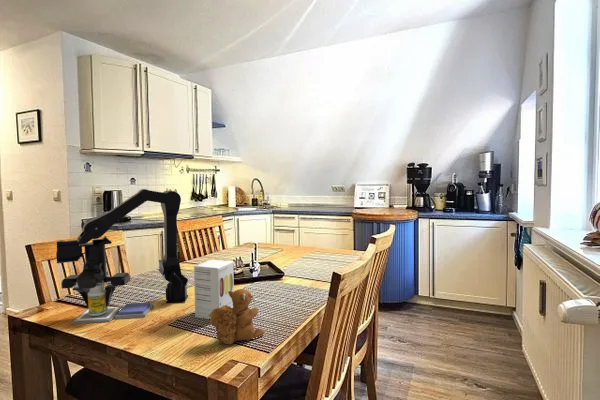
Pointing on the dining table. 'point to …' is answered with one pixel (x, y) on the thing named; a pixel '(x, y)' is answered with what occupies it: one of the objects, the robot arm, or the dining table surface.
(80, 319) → the marked board
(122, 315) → the ink pad
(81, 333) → the dining table surface
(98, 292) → the supplement bottle
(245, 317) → the stuffed squirrel
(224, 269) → the supplement box
